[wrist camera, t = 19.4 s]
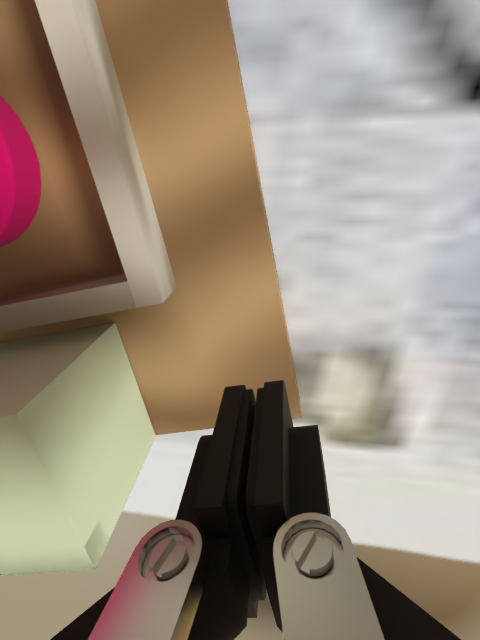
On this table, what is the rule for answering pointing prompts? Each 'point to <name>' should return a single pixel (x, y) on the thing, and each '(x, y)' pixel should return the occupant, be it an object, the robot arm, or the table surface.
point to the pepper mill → (16, 176)
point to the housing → (66, 447)
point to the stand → (144, 199)
